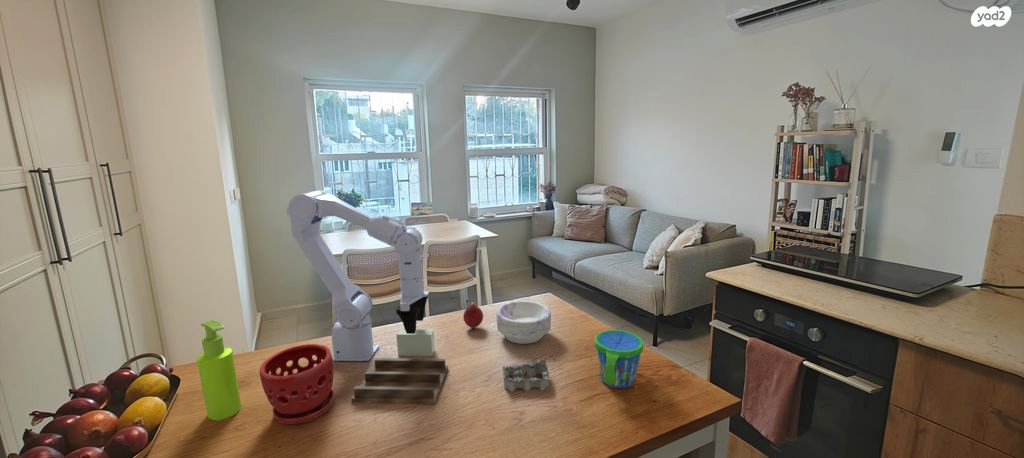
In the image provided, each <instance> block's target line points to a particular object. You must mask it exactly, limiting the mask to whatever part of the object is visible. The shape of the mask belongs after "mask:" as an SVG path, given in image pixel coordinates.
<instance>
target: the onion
mask: <svg viewBox="0 0 1024 458" xmlns="http://www.w3.org/2000/svg"><path fill="white" fill-rule="evenodd" d="M483 320H484V313H483V311H482V309H481V308H480V307H479V306H478V305H476V303H475V302H473V301H472V302H471V303H470V306H468V307H467V308H466V309H465V311H464V312H463V322H464V324H465V325H466V326H467V327H469V328H471V329H476V328H477V327H478V326H480V325H481V324H482V322H483Z"/></svg>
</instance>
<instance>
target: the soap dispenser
mask: <svg viewBox="0 0 1024 458" xmlns="http://www.w3.org/2000/svg"><path fill="white" fill-rule="evenodd" d="M200 325H201V327H203V328H204V330H205V337H204V338H202V339H201V344H202V350H203V352H202V353H200V354H199V355H198V356H197V358H196V360H197V366H198V371H199V376H200V377H199V378H200V382H201V387H202V392H203V399H204V403H205V410H206V415H207V418H209V419H208V420H210V419H212V420H211V421H213V420H217V421H221V420H220V419H223V420H225V419H224V418H226V419H229V418H231V417H233V416H235V415H236V414H238V413H239V412H240V411H241V409H242V401H241V395H240V389H239V384H238V383H239V382H238V378H237V372H236V371H237V370H236V366H235V360H234V352H233V349H232V348H231V347H225V343H224V339H223V335H222V334H218V333H217V332H218V331H221V330H223V329H225V326H224V325H223V324H222V323H221V322H219V321H217V320H213V319H210V320H207V321H204V322H201V323H200ZM239 410H240V411H239ZM237 412H238V413H237ZM234 414H235V415H234ZM230 416H231V417H230ZM228 417H229V418H228Z"/></svg>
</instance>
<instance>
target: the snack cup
mask: <svg viewBox="0 0 1024 458" xmlns="http://www.w3.org/2000/svg"><path fill="white" fill-rule="evenodd" d="M594 346H595V348H596V350H597V359H598V367H599V368H598V369H599V375H600V379H601V382H602V383H605V385H607V386H609V387H611V388H613V389H627V388H631V387H632V385H634V383H635V380H636V377H637V373H638V368H639V363H640V358H641V354H642V352H643V351H644V341H643V339H642V338H641V337H640V336H639V335H636V334H635V333H634V332H633V333H632V332H631V331H630V332H629V331H627V330H620V329H607V330H604V331H601V332H599V333H598V334H597V335H596V336H595V338H594Z"/></svg>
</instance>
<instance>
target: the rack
mask: <svg viewBox="0 0 1024 458" xmlns="http://www.w3.org/2000/svg"><path fill="white" fill-rule="evenodd" d="M448 371H449V365H446V358H400V357H398V358H397V357H396V358H391V357H389V358H387V357H386V358H383V357H375V358H374V366H373V367H372V369H371V370H369V371H365V373H364V378H365V379H364V380H363V382H362V383H361V384H360V385H356V386H354V388H353V395H352V397H351V398H350V399H351V403H352V404H394V405H395V404H397V405H398V404H399V405H400V404H403V405H407V404H408V405H410V404H411V405H436V402H437V399H438V397H439V394H440V393H441V389H442V386H443V384H444V381H445V380H446V379H445V378H446V375H447V373H448Z"/></svg>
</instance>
